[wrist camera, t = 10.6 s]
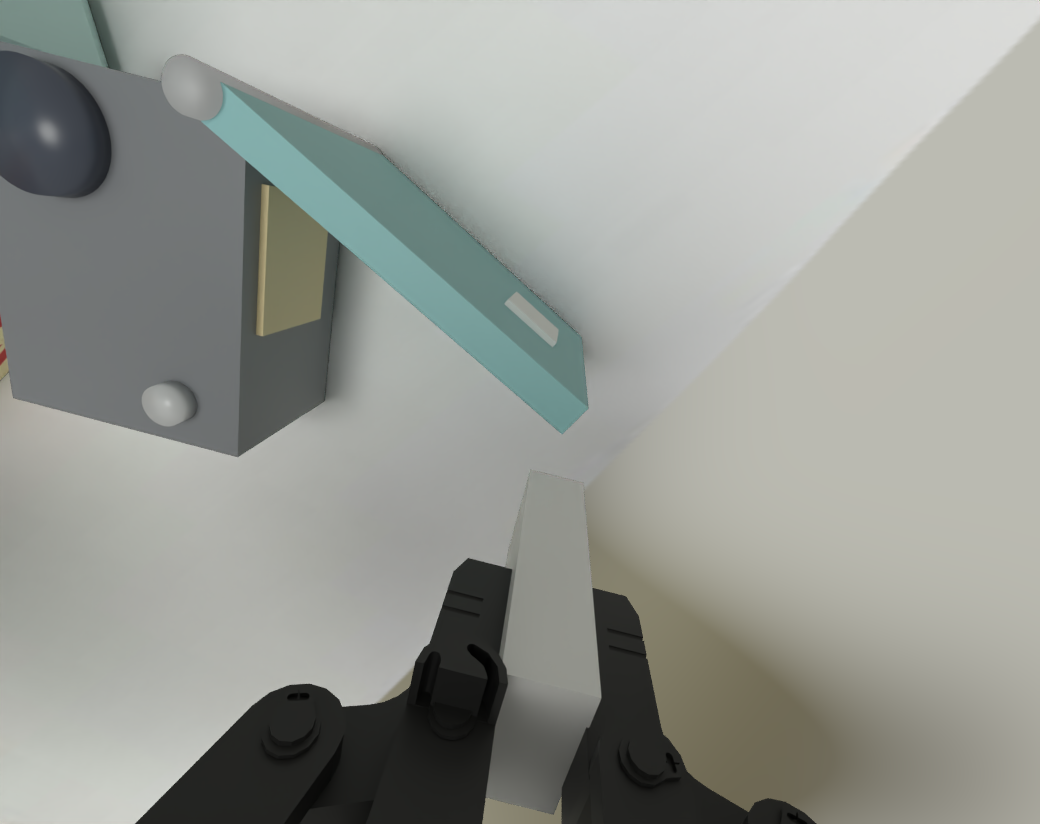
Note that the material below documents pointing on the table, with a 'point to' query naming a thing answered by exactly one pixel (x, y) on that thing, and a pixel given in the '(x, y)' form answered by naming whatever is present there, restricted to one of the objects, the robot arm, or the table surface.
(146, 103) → the camera body
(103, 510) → the table surface
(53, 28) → the water bottle
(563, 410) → the side door
